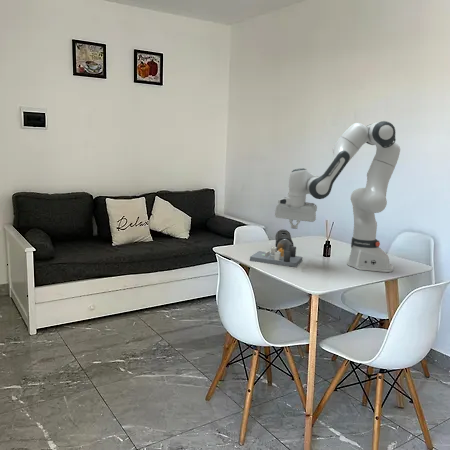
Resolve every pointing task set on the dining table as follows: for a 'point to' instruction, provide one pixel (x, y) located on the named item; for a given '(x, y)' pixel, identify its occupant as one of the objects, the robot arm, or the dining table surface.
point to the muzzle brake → (283, 240)
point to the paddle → (281, 252)
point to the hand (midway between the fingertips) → (294, 228)
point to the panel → (271, 260)
